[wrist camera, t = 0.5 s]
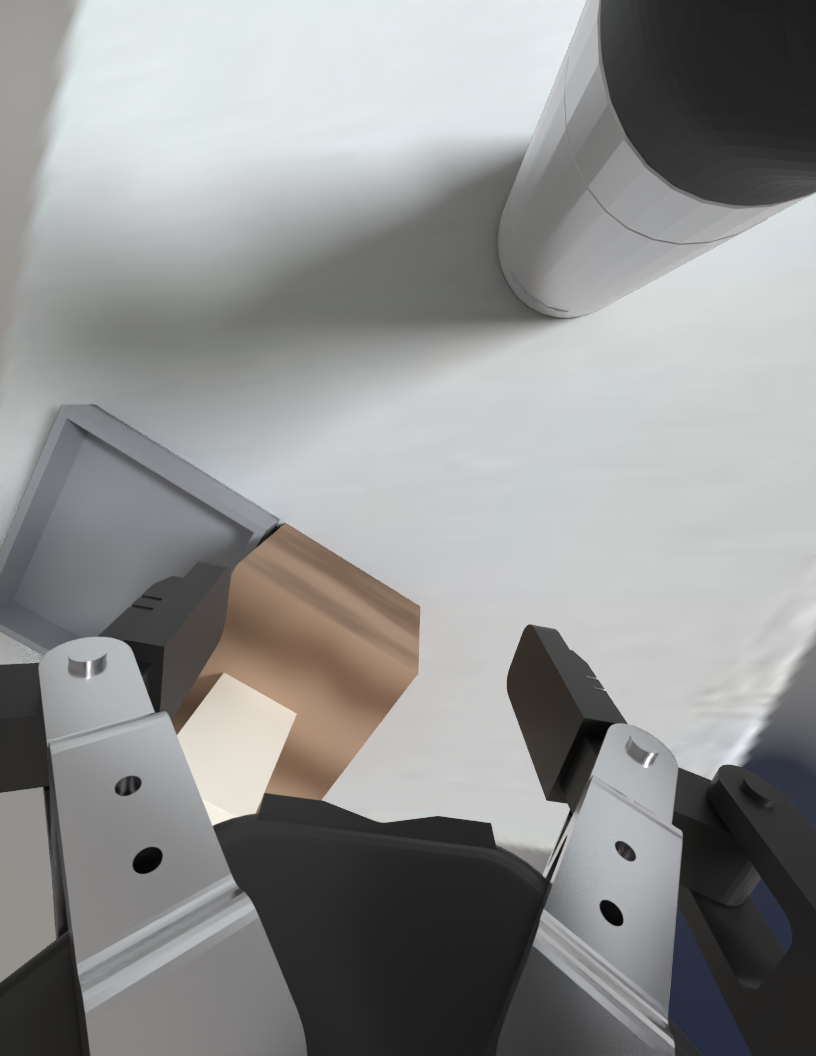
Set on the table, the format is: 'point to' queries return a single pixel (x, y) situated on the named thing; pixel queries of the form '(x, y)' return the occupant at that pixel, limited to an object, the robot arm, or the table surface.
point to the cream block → (234, 747)
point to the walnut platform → (313, 654)
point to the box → (111, 529)
